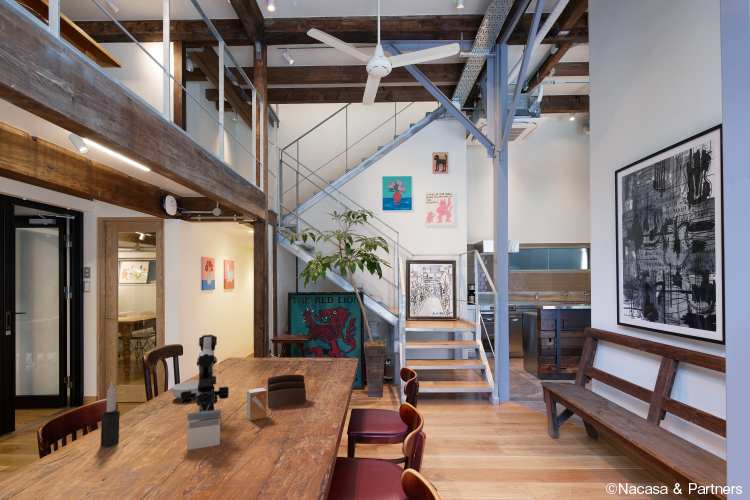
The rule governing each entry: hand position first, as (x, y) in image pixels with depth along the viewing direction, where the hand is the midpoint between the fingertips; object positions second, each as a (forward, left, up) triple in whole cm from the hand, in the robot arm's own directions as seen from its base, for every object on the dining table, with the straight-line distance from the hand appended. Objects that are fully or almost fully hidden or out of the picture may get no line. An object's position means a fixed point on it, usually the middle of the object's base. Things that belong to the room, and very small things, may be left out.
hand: (204, 413), depth 162 cm
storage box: (+1, -1, -12) cm, 12 cm away
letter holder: (+1, +55, -12) cm, 56 cm away
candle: (-35, -16, -12) cm, 40 cm away
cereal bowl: (-57, +42, -12) cm, 72 cm away
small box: (+1, +31, -12) cm, 33 cm away
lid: (0, 0, -1) cm, 1 cm away
